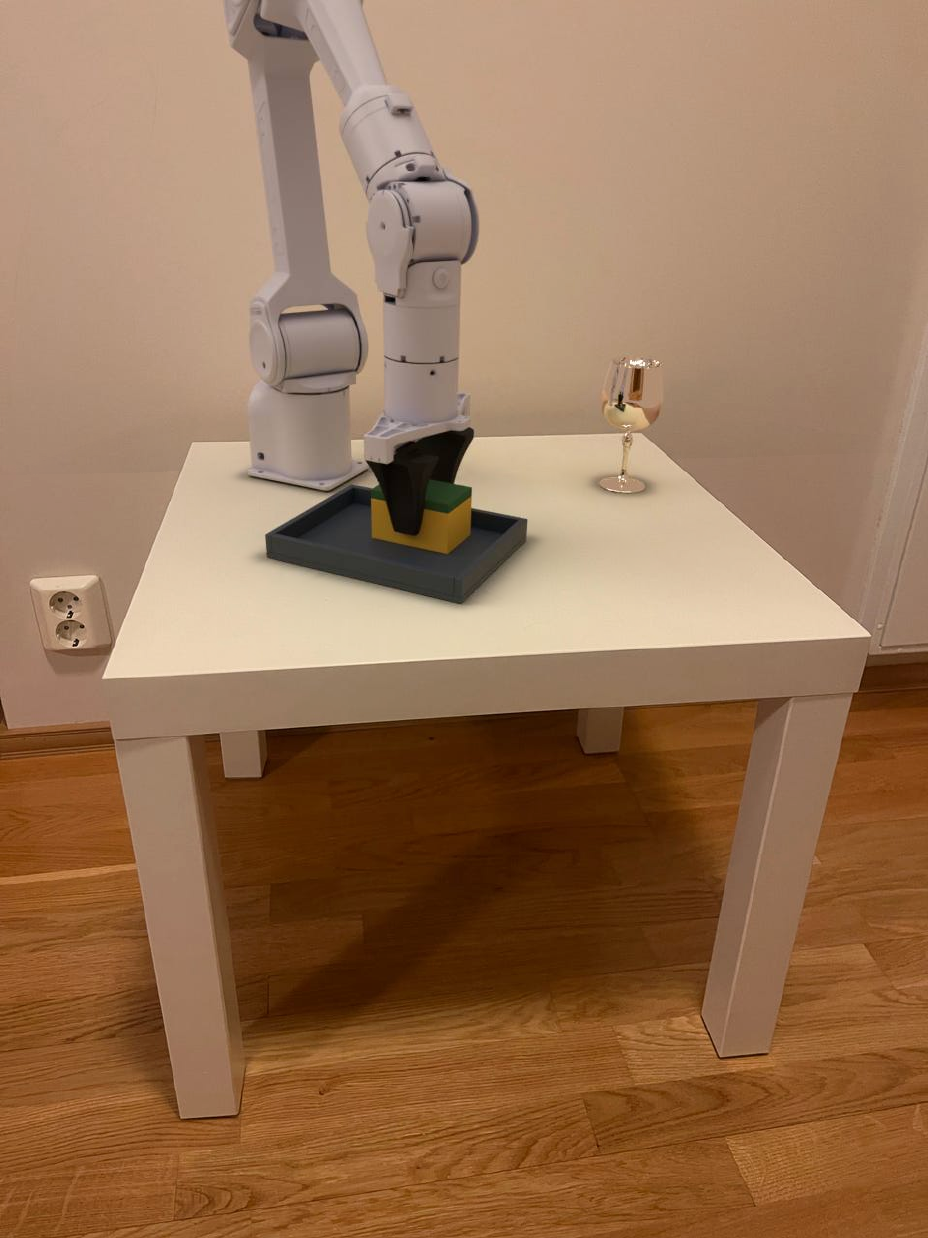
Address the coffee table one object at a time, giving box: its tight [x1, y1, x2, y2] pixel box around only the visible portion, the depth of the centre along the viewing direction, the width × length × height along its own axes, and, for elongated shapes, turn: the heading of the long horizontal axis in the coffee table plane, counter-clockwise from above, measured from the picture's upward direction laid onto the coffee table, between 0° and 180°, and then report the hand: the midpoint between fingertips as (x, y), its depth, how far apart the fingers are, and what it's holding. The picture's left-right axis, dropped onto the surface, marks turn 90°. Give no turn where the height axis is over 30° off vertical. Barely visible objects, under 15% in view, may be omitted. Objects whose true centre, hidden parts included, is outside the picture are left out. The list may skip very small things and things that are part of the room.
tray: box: [264, 484, 528, 605], centre depth 74 cm, size 17×13×2 cm
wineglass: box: [599, 356, 665, 494], centre depth 87 cm, size 6×6×12 cm
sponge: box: [371, 479, 473, 554], centre depth 75 cm, size 7×4×4 cm, turn 65°
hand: (420, 522), depth 75 cm, fingers closed on sponge, 4 cm apart
